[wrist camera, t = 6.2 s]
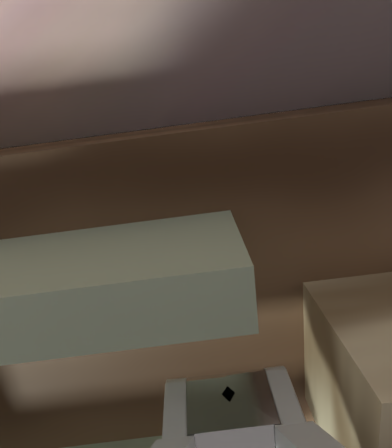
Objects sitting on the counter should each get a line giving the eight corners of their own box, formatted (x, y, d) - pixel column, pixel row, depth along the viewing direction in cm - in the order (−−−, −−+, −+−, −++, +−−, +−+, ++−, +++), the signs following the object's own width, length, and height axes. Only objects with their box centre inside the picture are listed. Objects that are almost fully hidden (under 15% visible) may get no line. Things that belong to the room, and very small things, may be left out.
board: (-165, 170, 12) (-272, 191, 9) (904, 29, 12) (1136, 7, 9) (-28, 461, 17) (-71, 535, 14) (739, 368, 16) (856, 425, 13)
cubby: (-193, 264, 10) (-380, 346, 7) (230, 209, 10) (253, 265, 6) (-67, 493, 13) (-152, 626, 10) (253, 454, 13) (277, 575, 10)
